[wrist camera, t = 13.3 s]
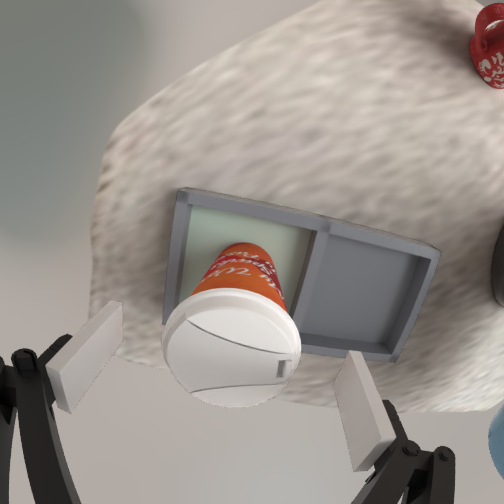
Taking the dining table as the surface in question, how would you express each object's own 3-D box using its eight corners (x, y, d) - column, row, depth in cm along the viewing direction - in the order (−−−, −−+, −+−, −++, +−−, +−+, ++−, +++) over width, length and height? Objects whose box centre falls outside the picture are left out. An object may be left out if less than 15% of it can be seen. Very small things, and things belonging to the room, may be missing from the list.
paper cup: (290, 234, 26) (316, 306, 13) (280, 310, 29) (290, 417, 15) (204, 226, 27) (148, 290, 13) (201, 302, 29) (160, 403, 15)
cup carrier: (428, 243, 27) (441, 251, 24) (387, 348, 31) (395, 362, 28) (186, 187, 26) (177, 189, 24) (170, 311, 30) (162, 324, 27)
